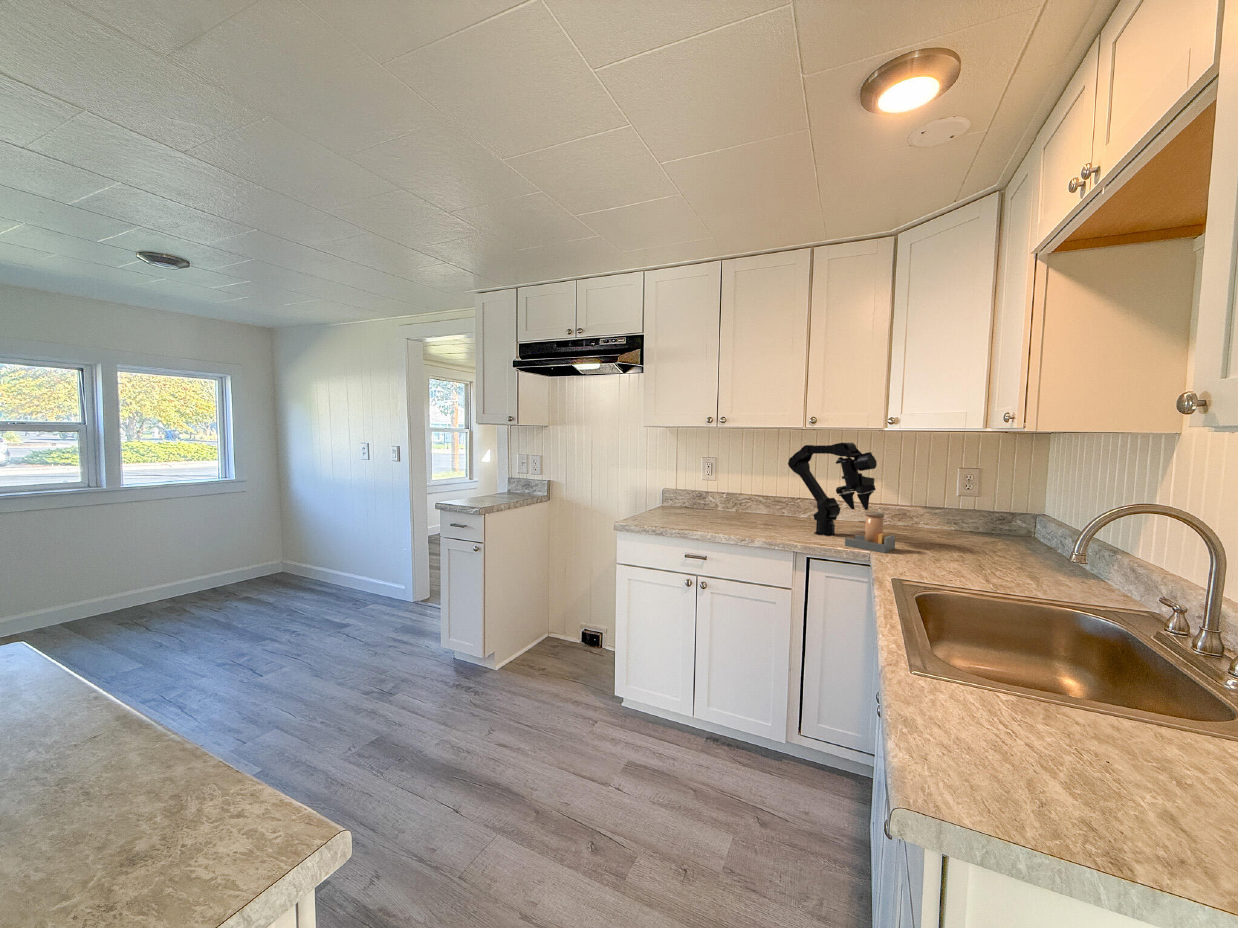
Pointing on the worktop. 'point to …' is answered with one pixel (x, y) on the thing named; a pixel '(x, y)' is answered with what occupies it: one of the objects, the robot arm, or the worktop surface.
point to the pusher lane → (871, 544)
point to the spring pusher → (882, 537)
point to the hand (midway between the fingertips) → (859, 509)
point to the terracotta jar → (873, 526)
